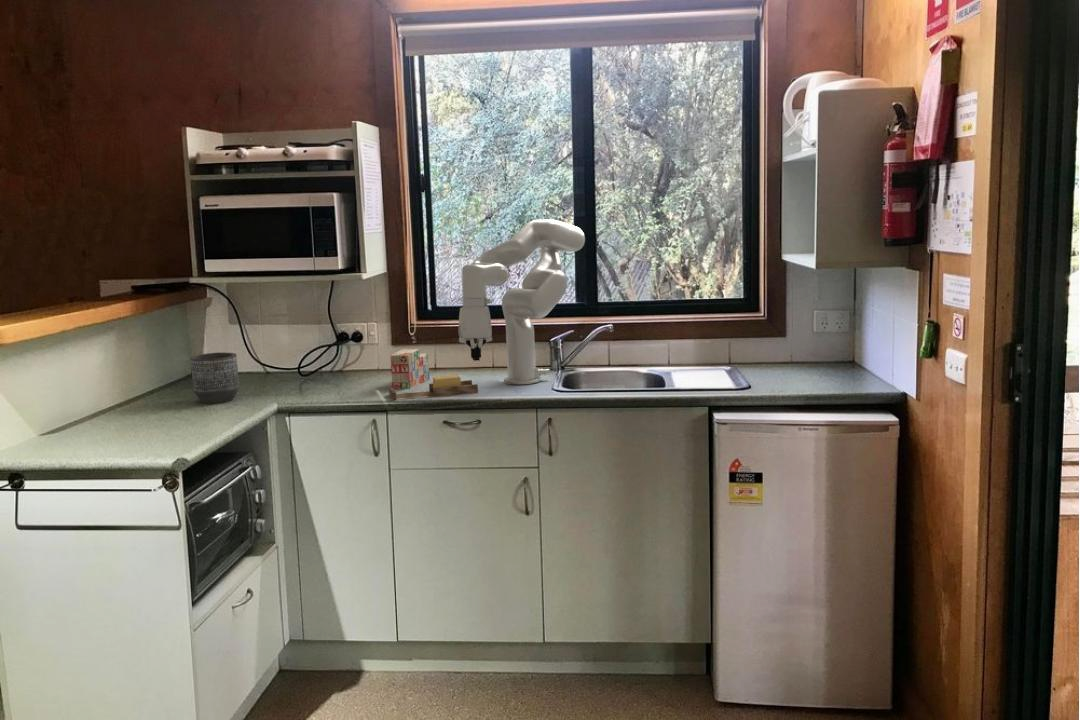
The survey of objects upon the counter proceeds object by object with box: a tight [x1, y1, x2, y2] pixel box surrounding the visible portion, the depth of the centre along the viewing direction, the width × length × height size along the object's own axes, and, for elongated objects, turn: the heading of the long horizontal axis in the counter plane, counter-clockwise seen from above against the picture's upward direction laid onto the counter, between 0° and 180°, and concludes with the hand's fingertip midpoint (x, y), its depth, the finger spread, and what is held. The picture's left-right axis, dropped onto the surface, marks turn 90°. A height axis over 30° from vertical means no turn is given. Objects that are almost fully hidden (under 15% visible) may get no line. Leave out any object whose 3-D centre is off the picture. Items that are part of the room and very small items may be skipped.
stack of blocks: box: [390, 348, 430, 390], centre depth 323 cm, size 21×6×12 cm, turn 169°
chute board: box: [388, 379, 479, 401], centre depth 302 cm, size 27×10×3 cm, turn 107°
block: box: [432, 374, 462, 390], centre depth 303 cm, size 8×5×5 cm, turn 107°
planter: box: [189, 351, 240, 405], centre depth 306 cm, size 14×14×15 cm
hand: (476, 360), depth 304 cm, fingers closed
